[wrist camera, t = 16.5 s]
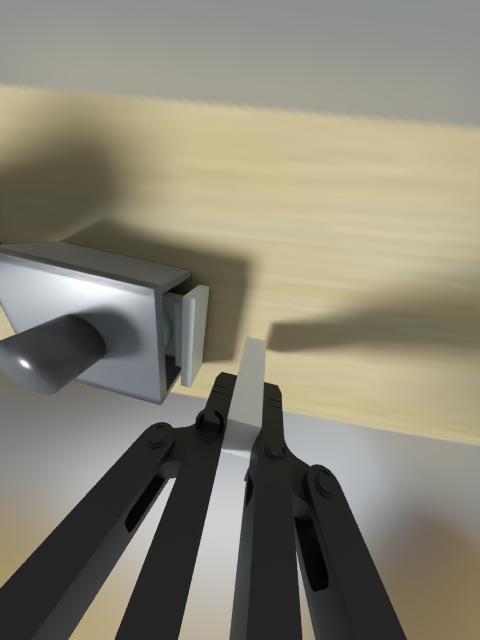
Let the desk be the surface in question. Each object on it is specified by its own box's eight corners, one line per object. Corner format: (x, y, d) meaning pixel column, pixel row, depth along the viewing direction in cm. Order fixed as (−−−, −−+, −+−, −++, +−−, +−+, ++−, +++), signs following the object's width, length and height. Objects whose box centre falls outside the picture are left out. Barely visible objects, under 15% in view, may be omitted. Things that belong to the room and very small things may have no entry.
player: (88, 338, 19) (-19, 401, 12) (60, 241, 14) (-140, 252, 7) (187, 364, 18) (134, 446, 11) (191, 270, 13) (106, 313, 7)
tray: (96, 337, 18) (68, 355, 15) (74, 256, 14) (32, 261, 12) (201, 364, 17) (190, 387, 15) (209, 286, 13) (195, 299, 11)
